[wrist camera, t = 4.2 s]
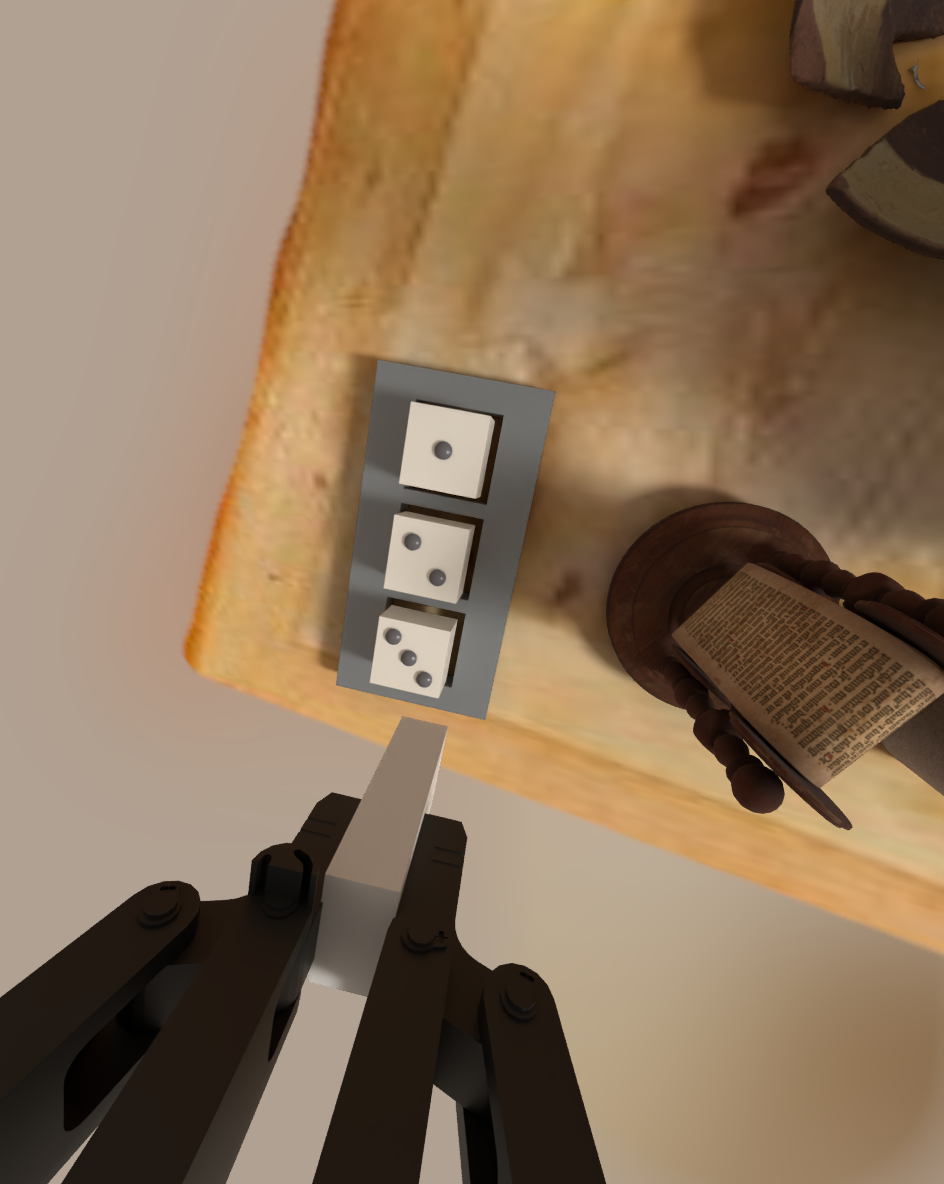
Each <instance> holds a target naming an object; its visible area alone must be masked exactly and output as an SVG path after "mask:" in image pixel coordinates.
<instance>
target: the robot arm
mask: <svg viewBox="0 0 944 1184" xmlns="http://www.w3.org/2000/svg"><path fill="white" fill-rule="evenodd" d="M447 729H448V726H443V725H439V724H435V723H430V722H426V721H422V720H417V719H413V718H408V717H404V716H402V718H401V720H400V722H399V724H398V727H397V729H396V731H395V733H394V735H393V737H392V739H391V741H390V743H389V745H388V747H387V749H386V751H385V753H384V755H383V757H382V759H381V761H380V763H379V765H378V767H377V769H376V771H375V774H374V775H373V777H372V780H371V782H370V784H369V786H368V788H367V790H366V792H365V794H364V796H363V798H362V799H358V798H353V797H350V796H345V795H341V794H337V793H333V792H332V793H330V794H329V795H328V796H326V797H325V798H323V799H322V800H320V801H319V802H318V803H317V804H316V805H315V807H314V808H313V810H312V812H311V813H310V815H309V816H308V819H307V820H306V821H305V823H304V824H303V826H302V828H301V830H300V832H299V833H298V834H297V836H296V837H295V839H294V840H293V842H292V843H284V844H279V845H273V846H271V847H269V848H267V849H265V850H263V851H261V852H260V853H259V854H258V855H257V856H256V857H255V858H254V859H253V860H252V864H251V873H250V882H249V891H248V895H246V896H243V897H240V898H236V899H229V900H216V901H200V897H199V893H198V891H197V890H196V889H195V888H194V887H193V886H192V885H191V884H188V883H184V882H181V881H164V882H161V883H157V884H154V885H151V886H148V887H146V888H144V889H143V890H141V891H139V892H138V893H136V894H134V895H133V896H132V897H130V898H129V899H128V900H126V901H125V902H124V903H122V904H121V905H120V906H119V907H117V908H116V909H115V910H114V911H112V912H111V913H110V914H108V915H107V916H106V917H104V918H103V919H102V920H100V921H99V922H98V923H96V924H95V925H94V926H93V927H91V928H90V929H89V930H88V931H86V932H85V933H84V934H82V935H81V936H80V937H78V938H77V939H76V940H74V941H73V942H72V943H71V944H69V945H68V946H67V947H65V948H64V949H63V950H61V951H60V952H59V953H58V954H56V955H55V956H54V957H52V958H51V959H50V960H48V961H47V962H46V963H45V964H43V965H42V966H41V967H39V968H38V969H37V970H36V971H34V972H33V973H32V974H30V975H29V976H28V977H26V978H25V979H24V980H23V981H22V982H20V983H19V984H17V985H16V986H15V987H13V988H12V989H11V990H10V991H8V992H7V993H6V994H4V995H3V996H2V997H1V998H0V1184H48V1183H49V1181H50V1180H51V1179H52V1178H53V1177H54V1176H55V1175H56V1173H57V1172H58V1171H59V1170H60V1169H61V1168H62V1167H63V1165H64V1164H65V1163H66V1162H67V1161H68V1160H69V1159H70V1157H71V1156H72V1155H73V1154H74V1153H75V1152H76V1151H77V1149H78V1148H79V1147H80V1146H81V1145H82V1144H83V1143H84V1141H85V1140H86V1139H87V1138H88V1137H89V1136H90V1135H91V1133H92V1132H93V1131H94V1130H95V1129H96V1128H97V1127H98V1128H97V1129H96V1131H95V1132H94V1134H93V1135H92V1137H91V1138H90V1140H89V1141H88V1143H87V1145H86V1146H85V1148H84V1149H83V1151H82V1152H81V1154H80V1155H79V1157H78V1158H77V1160H76V1162H75V1163H74V1165H73V1166H72V1168H71V1169H70V1171H69V1172H68V1174H67V1175H66V1177H65V1179H64V1180H63V1182H62V1183H61V1184H226V1181H227V1179H228V1177H229V1174H230V1172H231V1169H232V1167H233V1164H234V1162H235V1160H236V1157H237V1155H238V1152H239V1150H240V1148H241V1145H242V1143H243V1140H244V1138H245V1135H246V1133H247V1131H248V1128H249V1126H250V1124H251V1121H252V1119H253V1116H254V1114H255V1111H256V1109H257V1107H258V1104H259V1102H260V1099H261V1097H262V1095H263V1092H264V1090H265V1087H266V1085H267V1082H268V1080H269V1078H270V1075H271V1073H272V1070H273V1068H274V1065H275V1063H276V1061H277V1058H278V1056H279V1054H280V1051H281V1049H282V1046H283V1044H284V1041H285V1039H286V1036H287V1034H288V1032H289V1029H290V1027H291V1024H292V1022H293V1020H294V1017H295V1015H296V1013H297V1009H298V1005H299V1000H300V995H301V988H302V986H303V983H304V981H305V979H306V977H307V974H308V972H309V970H310V976H309V982H312V983H316V984H320V985H324V986H328V987H331V988H336V989H339V990H343V991H347V992H351V993H355V994H359V995H363V996H366V997H367V1001H366V1004H365V1007H364V1011H363V1014H362V1018H361V1021H360V1024H359V1028H358V1031H357V1034H356V1038H355V1041H354V1045H353V1048H352V1051H351V1055H350V1058H349V1062H348V1065H347V1068H346V1071H345V1075H344V1079H343V1082H342V1085H341V1088H340V1092H339V1095H338V1098H337V1102H336V1105H335V1109H334V1112H333V1115H332V1119H331V1122H330V1125H329V1129H328V1132H327V1136H326V1139H325V1142H324V1146H323V1149H322V1152H321V1156H320V1159H319V1163H318V1166H317V1169H316V1173H315V1176H314V1179H313V1183H312V1184H419V1178H420V1171H421V1164H422V1157H423V1151H424V1144H425V1137H426V1129H427V1123H428V1116H429V1109H430V1103H431V1095H432V1088H433V1084H434V1085H435V1086H436V1087H438V1088H439V1089H440V1090H442V1091H443V1092H445V1093H446V1094H447V1095H449V1096H450V1097H451V1098H452V1099H454V1100H455V1101H456V1112H457V1123H458V1135H459V1145H460V1146H459V1147H460V1157H461V1169H462V1181H463V1184H606V1182H605V1178H604V1174H603V1171H602V1167H601V1164H600V1160H599V1157H598V1153H597V1150H596V1146H595V1143H594V1139H593V1135H592V1132H591V1128H590V1125H589V1121H588V1118H587V1114H586V1111H585V1107H584V1103H583V1100H582V1096H581V1093H580V1089H579V1086H578V1083H577V1079H576V1075H575V1072H574V1068H573V1064H572V1062H571V1057H570V1054H569V1050H568V1047H567V1043H566V1040H565V1037H564V1033H563V1029H562V1026H561V1022H560V1018H559V1015H558V1011H557V1008H556V1004H555V1001H554V998H553V996H552V994H551V991H550V989H549V987H548V985H547V984H546V983H545V982H544V980H543V979H542V978H541V977H540V976H539V975H538V974H537V973H536V972H534V971H532V970H531V969H529V968H527V967H526V966H523V965H518V964H514V963H510V964H504V965H500V966H498V967H497V968H495V969H494V970H493V971H492V970H490V969H489V968H487V967H486V966H484V965H482V964H481V963H479V962H477V961H476V960H475V959H474V958H472V957H471V956H470V955H469V954H468V953H467V952H466V951H465V950H464V948H463V947H462V945H461V943H460V942H459V940H458V938H457V934H456V930H455V917H456V911H457V904H458V897H459V890H460V884H461V877H462V868H463V863H464V855H465V848H466V842H467V836H466V833H465V830H464V827H463V825H462V822H459V821H456V820H452V819H447V818H443V817H439V816H435V815H431V814H429V812H430V808H431V804H432V801H433V796H434V791H435V787H436V782H437V777H438V772H439V768H440V763H441V758H442V753H443V748H444V744H445V739H446V734H447ZM310 967H311V969H310ZM98 1125H99V1126H98Z"/></svg>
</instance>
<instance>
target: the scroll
mask: <svg viewBox="0 0 944 1184" xmlns="http://www.w3.org/2000/svg"><path fill="white" fill-rule="evenodd" d="M839 599H844V600H845V601H844V602H843V606H844V608H843V607H841V606H840V605H839ZM606 617H607V626H608V632H609V636H610V639H611V642H612V645H613V647H614V650H615V652H616V654H617V656H618V658H619V660H620V662H621V664H622V665H623V667H624V668H625V670H626V671H627V672H628V674H629V675H630V676H631V677H632V678H633V679H634V681H635V682H637V683H638V684H639V685H640V686H641V687H642V688H643V689H644V690H646V691H647V692H648V693H650V694H651V695H653V696H654V697H656V698H658V699H660V700H662V701H664V702H666V703H668V704H670V705H673V706H675V707H678V708H682V709H685V710H687V713H688V714H689V715H690V717H691V718H693V719H695V723H694V727H693V733H694V735H695V736H696V738H697V739H698V740H699V741H700V742H701V744H702V745H703V746H704V747H705V748H707V749H708V750H709V751H710V752H711V753H712V754H714V755H715V757H716V758H717V760H718V761H719V762H720V763H721V764H722V765H724V766H725V767H726V775H727V778H728V779H729V780H730V782H731V787H732V792H733V795H734V797H735V798H736V799H737V801H738V802H739V803H740V804H741V805H742V806H743V807H744V808H746V809H748V810H750V811H752V812H755V813H761V814H764V813H770V812H772V811H774V810H776V809H778V807H779V806H780V805H781V804H782V802H783V799H784V795H785V793H784V788H783V783H782V781H781V780H780V779H779V777H780V778H781V779H782V780H783V781H784V782H785V783H786V784H787V785H788V786H789V787H790V788H791V789H792V790H793V791H795V792H796V793H797V794H798V795H799V796H800V797H801V798H802V799H803V800H804V801H805V802H806V803H808V804H809V805H810V806H811V807H812V808H813V809H814V810H816V811H817V812H818V813H819V814H820V815H821V816H823V817H824V818H825V819H826V820H828V821H829V822H830V823H832V824H833V825H835V826H836V827H838V828H844V829H846V830H850V829H851V828H852V824H851V823H850V821H849V820H848V818H847V817H846V816H845V815H844V814H843V812H842V811H841V810H840V809H839V808H838V807H837V806H836V804H835V803H834V802H833V801H832V800H831V799H830V798H829V797H828V796H827V795H826V794H825V793H824V792H823V791H822V790H821V789H820V788H821V787H822V786H823V785H825V784H826V783H827V782H829V781H830V780H831V779H832V778H834V777H835V776H836V775H838V774H839V773H840V772H842V771H843V770H844V769H845V768H847V767H848V766H849V765H851V764H852V763H853V762H855V761H856V760H857V759H858V758H860V757H861V756H862V755H864V754H865V753H866V752H868V751H869V750H870V749H871V748H873V747H874V746H875V745H877V744H878V743H879V742H881V741H882V740H883V739H884V738H886V737H887V736H888V735H890V734H891V733H892V732H894V731H895V730H896V729H897V728H899V727H900V726H901V725H903V724H904V723H905V722H907V721H908V720H909V719H910V718H912V717H913V716H914V715H916V714H917V713H918V712H920V711H921V710H922V709H923V708H925V707H926V706H927V705H929V704H930V703H931V702H933V701H934V700H935V699H936V698H938V697H939V696H940V695H942V694H943V693H944V599H937V598H932V599H927V600H925V599H924V598H923V597H922V596H920V595H919V594H917V593H915V592H913V591H910V590H905V589H904V587H903V586H901V585H900V584H899V583H898V582H896V581H895V580H893V579H892V578H890V577H888V576H886V575H884V574H882V573H877V572H872V573H867V574H864V575H862V576H859V577H855V575H853V574H852V573H850V572H848V571H846V570H841V569H840V568H839V567H838V565H836V564H834V563H832V562H831V561H830V559H829V557H828V555H827V554H826V552H825V551H824V549H823V547H822V546H821V545H820V543H819V542H818V541H817V540H816V538H815V537H814V536H813V535H812V534H811V533H810V532H809V531H808V530H806V529H805V528H804V527H803V526H801V525H800V524H799V523H797V522H796V521H794V520H793V519H791V518H789V517H788V516H786V515H784V514H782V513H779V512H777V511H774V510H772V509H769V508H765V507H761V506H758V505H751V504H745V503H737V502H715V503H707V504H702V505H698V506H693V507H690V508H687V509H684V510H681V511H679V512H677V513H674V514H672V515H670V516H668V517H666V518H664V519H663V520H661V521H660V522H658V523H656V524H655V525H653V526H652V527H651V528H650V529H648V530H647V531H646V532H644V533H643V534H642V535H641V536H640V537H639V538H638V539H637V540H636V541H635V542H634V544H633V545H632V546H631V547H630V548H629V549H628V551H627V552H626V554H625V555H624V556H623V558H622V560H621V561H620V563H619V565H618V567H617V569H616V571H615V573H614V575H613V578H612V581H611V584H610V588H609V592H608V597H607V606H606ZM743 739H744V740H745V742H746V743H747V744H748V745H749V746H750V747H751V748H752V749H753V750H754V751H755V752H756V754H757V755H758V756H759V757H760V758H761V759H762V760H763V761H764V762H765V763H766V764H767V765H768V766H769V767H770V768H771V769H772V770H773V771H772V770H770V769H769V768H767V767H765V766H764V765H763V763H762V762H761V761H760V759H758V758H756V757H755V756H753V755H750V754H749V749H748V746H747V745H746V743H745V742H744V741H743ZM778 776H779V777H778Z"/></svg>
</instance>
